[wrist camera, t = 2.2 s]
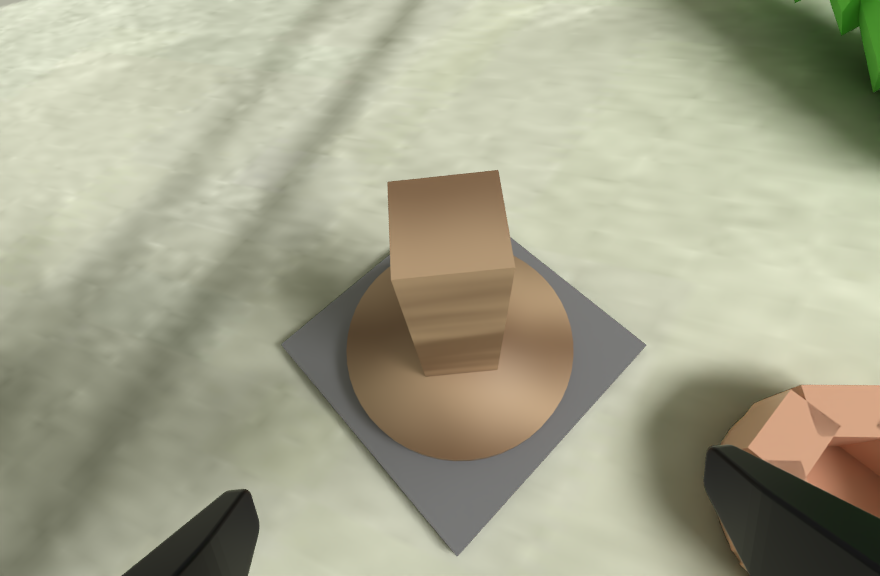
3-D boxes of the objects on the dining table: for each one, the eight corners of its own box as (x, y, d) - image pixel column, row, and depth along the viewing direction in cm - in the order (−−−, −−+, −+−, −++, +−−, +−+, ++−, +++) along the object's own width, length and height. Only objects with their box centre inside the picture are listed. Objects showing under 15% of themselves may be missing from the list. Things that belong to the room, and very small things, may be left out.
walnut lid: (593, 449, 20) (704, 393, 10) (349, 472, 20) (237, 437, 11) (547, 241, 25) (594, 71, 15) (351, 261, 25) (275, 107, 16)
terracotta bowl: (888, 706, 16) (977, 748, 13) (670, 505, 19) (704, 504, 17) (989, 514, 19) (1083, 514, 16) (779, 363, 22) (826, 341, 19)
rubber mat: (457, 555, 19) (457, 556, 19) (285, 348, 24) (280, 344, 23) (642, 348, 23) (646, 345, 22) (459, 203, 27) (459, 197, 27)
